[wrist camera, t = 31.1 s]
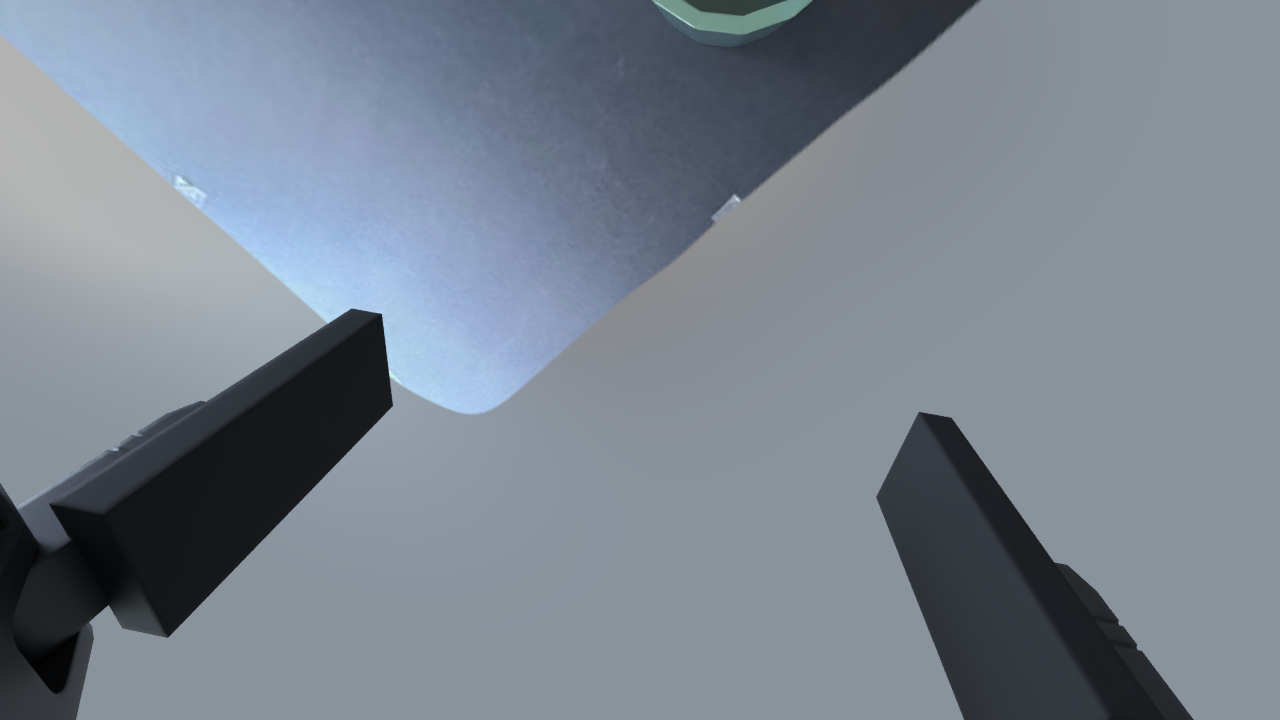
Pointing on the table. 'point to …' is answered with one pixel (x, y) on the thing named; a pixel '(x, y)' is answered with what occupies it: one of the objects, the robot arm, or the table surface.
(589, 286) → the table surface
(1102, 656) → the robot arm
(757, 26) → the cup
